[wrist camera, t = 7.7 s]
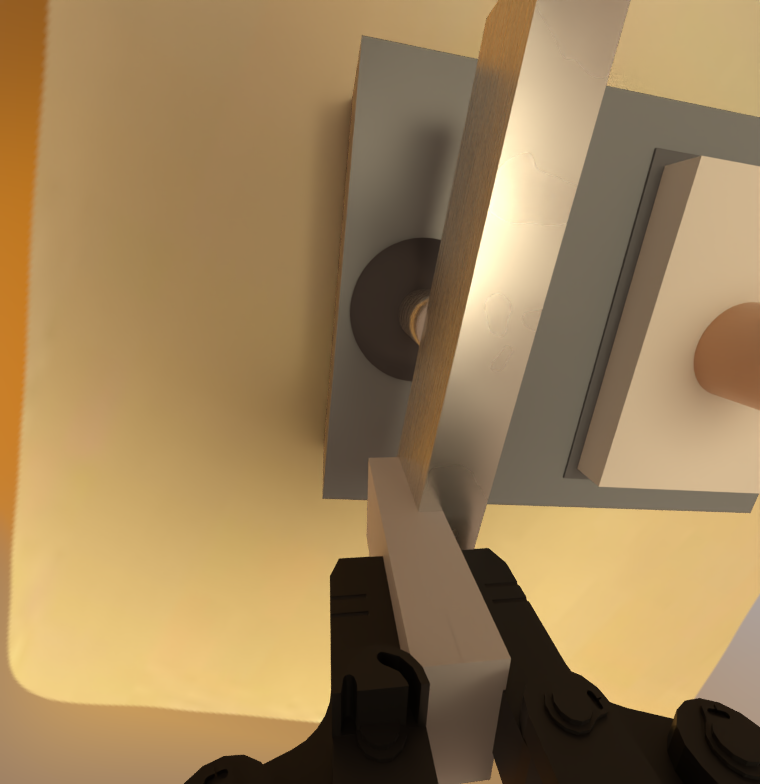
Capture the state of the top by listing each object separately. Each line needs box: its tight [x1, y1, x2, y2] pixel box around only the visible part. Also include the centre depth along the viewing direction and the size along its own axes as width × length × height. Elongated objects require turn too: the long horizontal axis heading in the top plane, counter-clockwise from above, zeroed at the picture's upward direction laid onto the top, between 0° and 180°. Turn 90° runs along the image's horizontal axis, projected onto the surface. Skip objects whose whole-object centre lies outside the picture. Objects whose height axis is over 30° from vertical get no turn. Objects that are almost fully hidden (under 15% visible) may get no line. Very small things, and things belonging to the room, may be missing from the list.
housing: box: [323, 35, 760, 513], centre depth 18 cm, size 16×21×5 cm
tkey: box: [397, 0, 630, 550], centre depth 12 cm, size 2×14×6 cm, turn 170°
